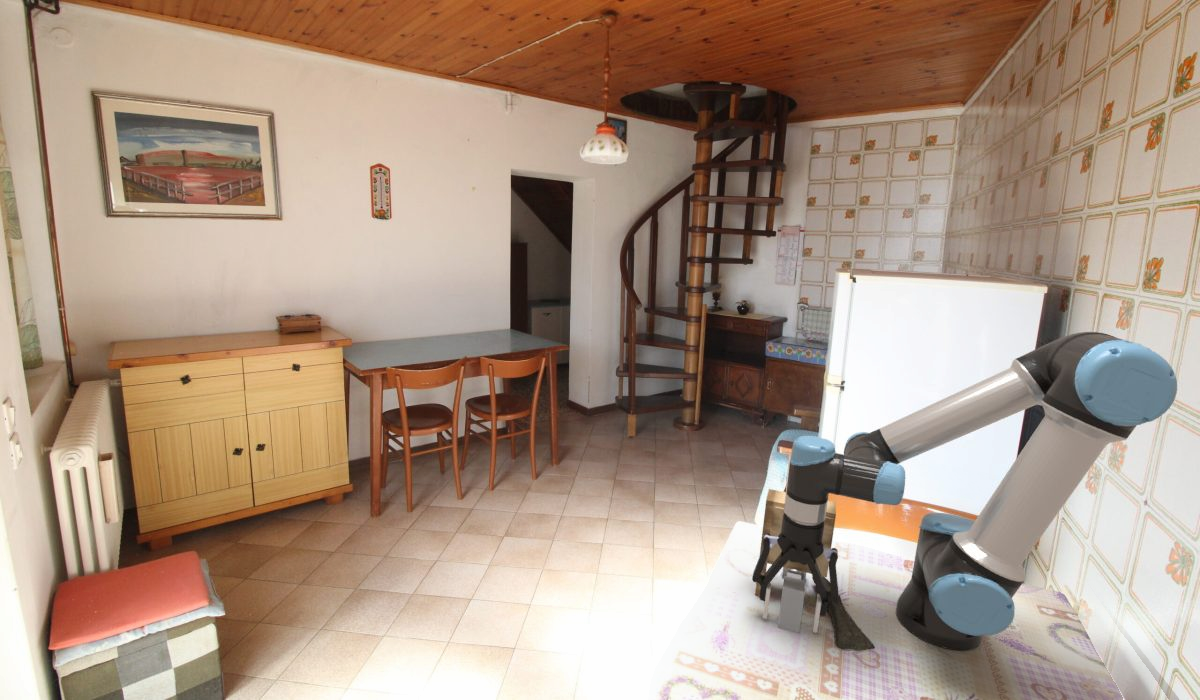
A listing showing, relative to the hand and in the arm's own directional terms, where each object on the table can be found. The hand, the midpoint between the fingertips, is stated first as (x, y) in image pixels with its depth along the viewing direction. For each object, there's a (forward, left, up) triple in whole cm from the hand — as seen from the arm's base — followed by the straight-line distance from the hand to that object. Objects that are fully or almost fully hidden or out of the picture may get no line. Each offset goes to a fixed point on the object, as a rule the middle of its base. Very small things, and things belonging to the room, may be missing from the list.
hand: (789, 621), depth 115 cm
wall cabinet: (0, -10, -1) cm, 10 cm away
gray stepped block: (0, -7, -1) cm, 7 cm away
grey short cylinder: (0, -18, -1) cm, 18 cm away
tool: (-10, -7, -1) cm, 12 cm away
